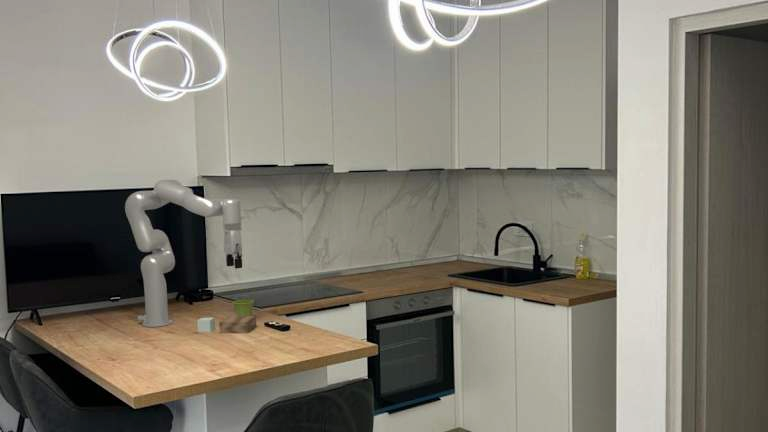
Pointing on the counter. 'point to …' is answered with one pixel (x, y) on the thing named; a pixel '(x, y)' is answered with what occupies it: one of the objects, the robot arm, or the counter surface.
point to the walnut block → (238, 324)
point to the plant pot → (243, 307)
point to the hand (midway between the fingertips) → (234, 267)
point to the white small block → (206, 324)
